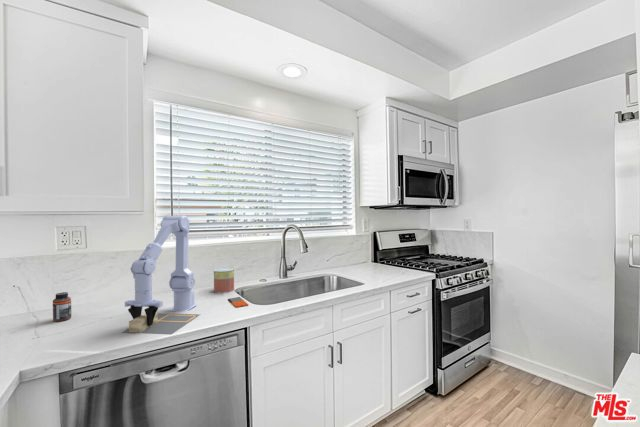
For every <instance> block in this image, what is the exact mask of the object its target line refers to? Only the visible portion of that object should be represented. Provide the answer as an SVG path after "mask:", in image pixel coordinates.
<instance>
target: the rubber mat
mask: <svg viewBox="0 0 640 427" xmlns="http://www.w3.org/2000/svg"><path fill="white" fill-rule="evenodd" d="M157 313H158V323H156V324H154V325H152V326H151V327H149V328H147V329H145V330H144V331H142V332H129V328H127V329H125V330H123V331H121V333H122V334H123V333H127V334H153V335H173V334H174V333H176V332H178V331H179V330H180V329H182V328H183V327H186V325H187V324H189V323H191V322H192V321H194V320H196V318H198V317H199V316H201V313H200V314H197V313H172V312H171V313H170V312H169V313H166V312H157Z"/></svg>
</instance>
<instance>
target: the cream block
mask: <svg viewBox="0 0 640 427" xmlns="http://www.w3.org/2000/svg"><path fill="white" fill-rule="evenodd" d="M158 313H159V312H156V314H155V317H154V320H153V324H152V325H154V324H156V323H158ZM152 325H150V326H147V317H146V313H143V314H141V316H139V317H137V318H135V319H133V318H132V319H131V320H129V321H128V329H129V332H142V331H144V330H145V329H147V328H149V327H151V326H152Z"/></svg>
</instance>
